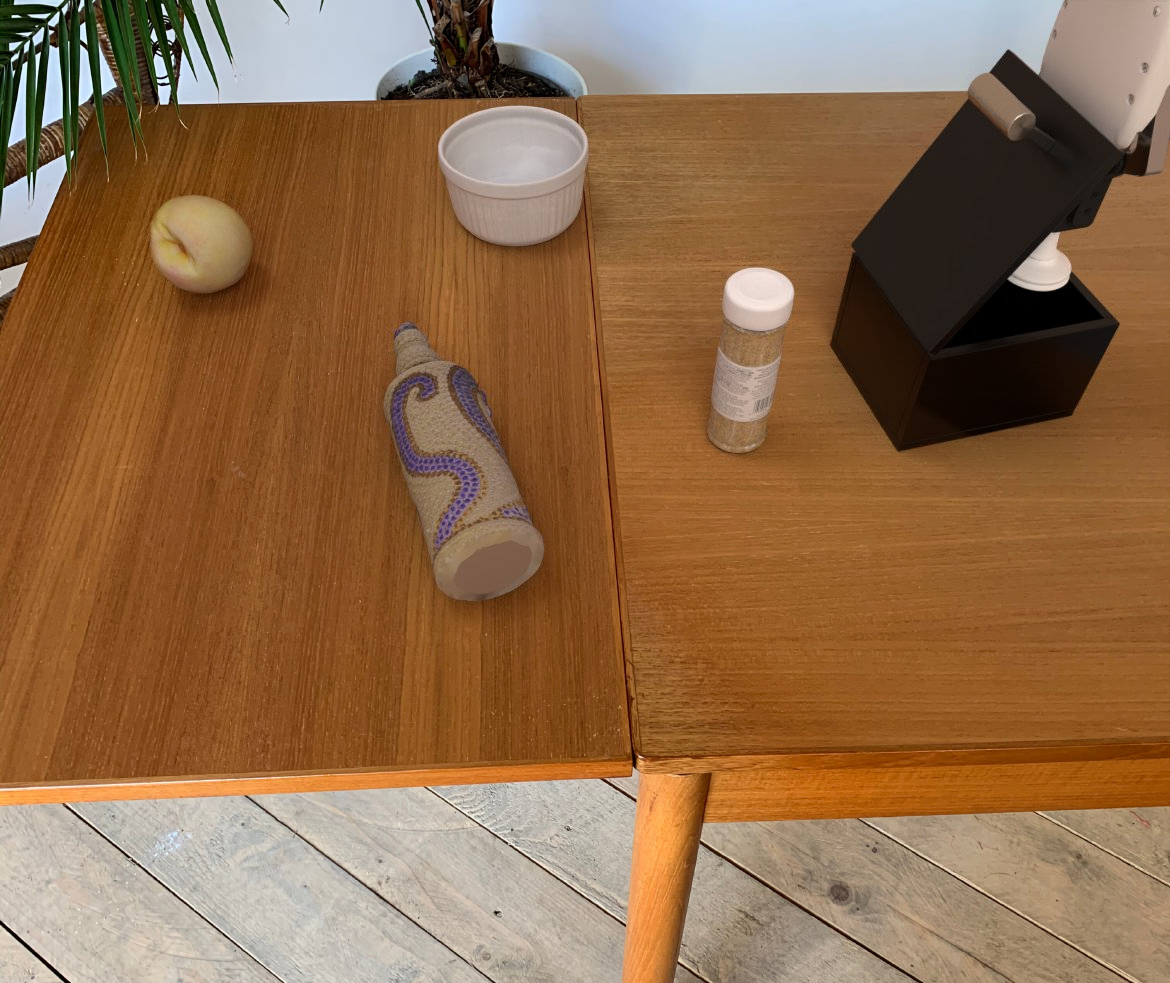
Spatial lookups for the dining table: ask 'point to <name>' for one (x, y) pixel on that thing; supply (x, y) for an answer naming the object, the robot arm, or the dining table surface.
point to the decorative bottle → (458, 475)
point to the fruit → (200, 244)
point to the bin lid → (982, 199)
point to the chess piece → (1043, 267)
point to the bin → (971, 360)
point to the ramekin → (515, 173)
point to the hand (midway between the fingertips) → (1057, 214)
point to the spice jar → (748, 357)
